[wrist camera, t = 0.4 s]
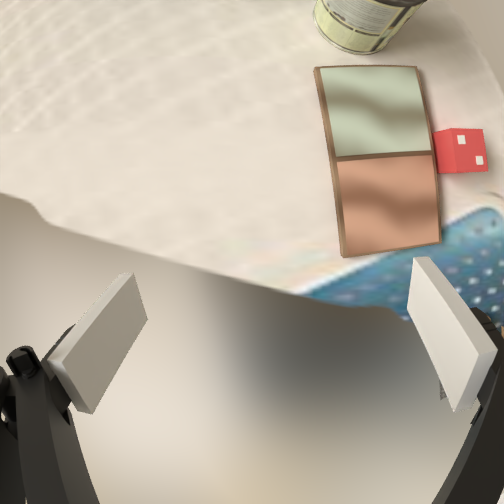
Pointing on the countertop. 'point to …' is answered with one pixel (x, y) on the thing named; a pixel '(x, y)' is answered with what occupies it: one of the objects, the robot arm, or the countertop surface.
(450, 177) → the countertop surface
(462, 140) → the red cube
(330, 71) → the green brown wooden board
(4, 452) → the robot arm
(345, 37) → the coffee can
